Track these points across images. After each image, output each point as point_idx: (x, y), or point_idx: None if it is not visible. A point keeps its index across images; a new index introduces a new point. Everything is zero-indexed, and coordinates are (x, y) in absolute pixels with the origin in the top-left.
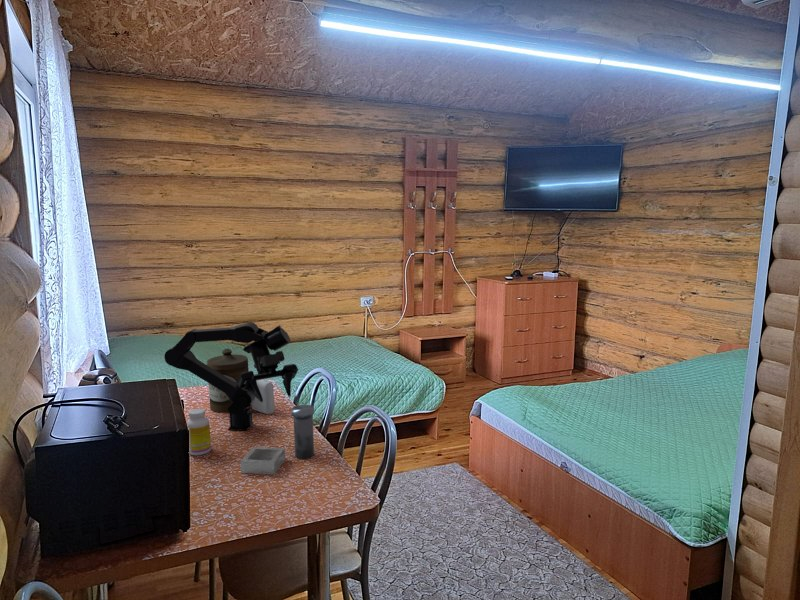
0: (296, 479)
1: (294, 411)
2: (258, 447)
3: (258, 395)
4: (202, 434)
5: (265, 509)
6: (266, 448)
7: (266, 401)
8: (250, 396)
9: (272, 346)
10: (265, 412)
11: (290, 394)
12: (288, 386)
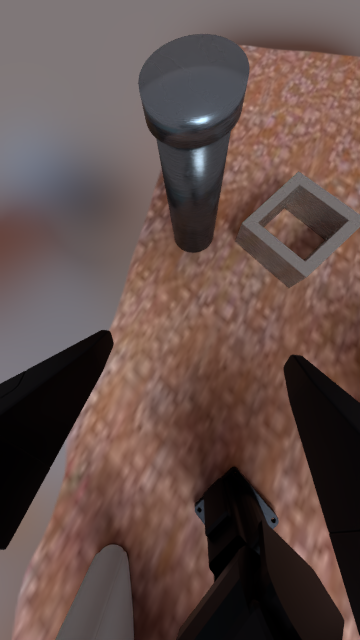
0: (258, 160)
1: (242, 64)
2: (295, 265)
3: (341, 390)
4: None
5: (349, 103)
6: (280, 248)
7: (102, 615)
8: (251, 611)
9: None
10: (126, 561)
11: (102, 330)
12: (59, 364)
